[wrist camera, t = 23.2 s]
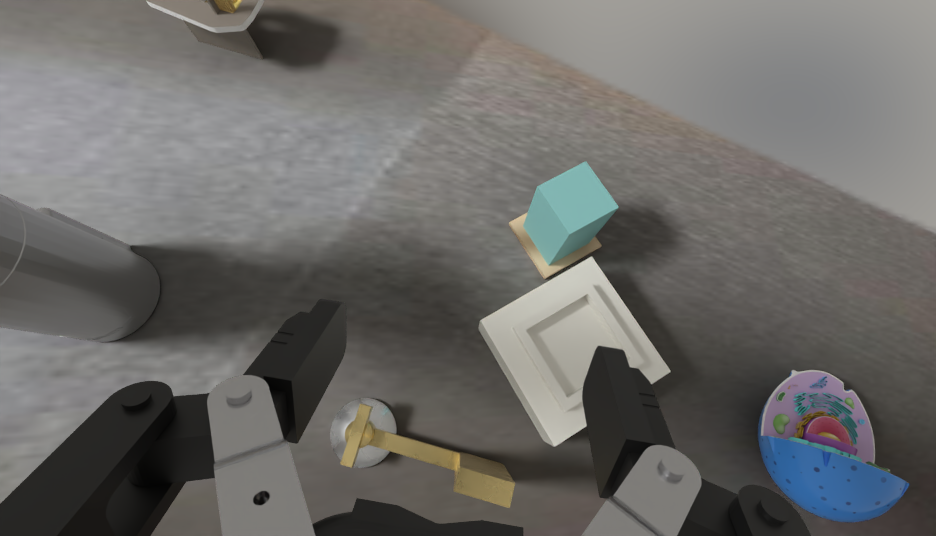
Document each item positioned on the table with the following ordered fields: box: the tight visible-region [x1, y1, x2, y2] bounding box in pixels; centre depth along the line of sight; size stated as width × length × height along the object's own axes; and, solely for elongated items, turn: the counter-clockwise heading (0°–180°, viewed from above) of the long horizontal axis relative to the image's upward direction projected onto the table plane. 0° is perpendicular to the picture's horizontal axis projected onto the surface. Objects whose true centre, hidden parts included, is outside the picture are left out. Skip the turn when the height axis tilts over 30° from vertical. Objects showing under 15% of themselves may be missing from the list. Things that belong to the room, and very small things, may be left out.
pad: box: [509, 213, 602, 279], centre depth 46 cm, size 7×7×1 cm
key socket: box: [331, 398, 397, 468], centre depth 40 cm, size 6×6×1 cm
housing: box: [478, 257, 671, 447], centre depth 40 cm, size 12×12×6 cm
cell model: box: [758, 370, 910, 523], centre depth 36 cm, size 10×12×10 cm
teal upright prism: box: [523, 161, 619, 266], centre depth 41 cm, size 5×5×9 cm
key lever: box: [340, 404, 515, 508], centre depth 35 cm, size 14×5×9 cm, turn 75°
